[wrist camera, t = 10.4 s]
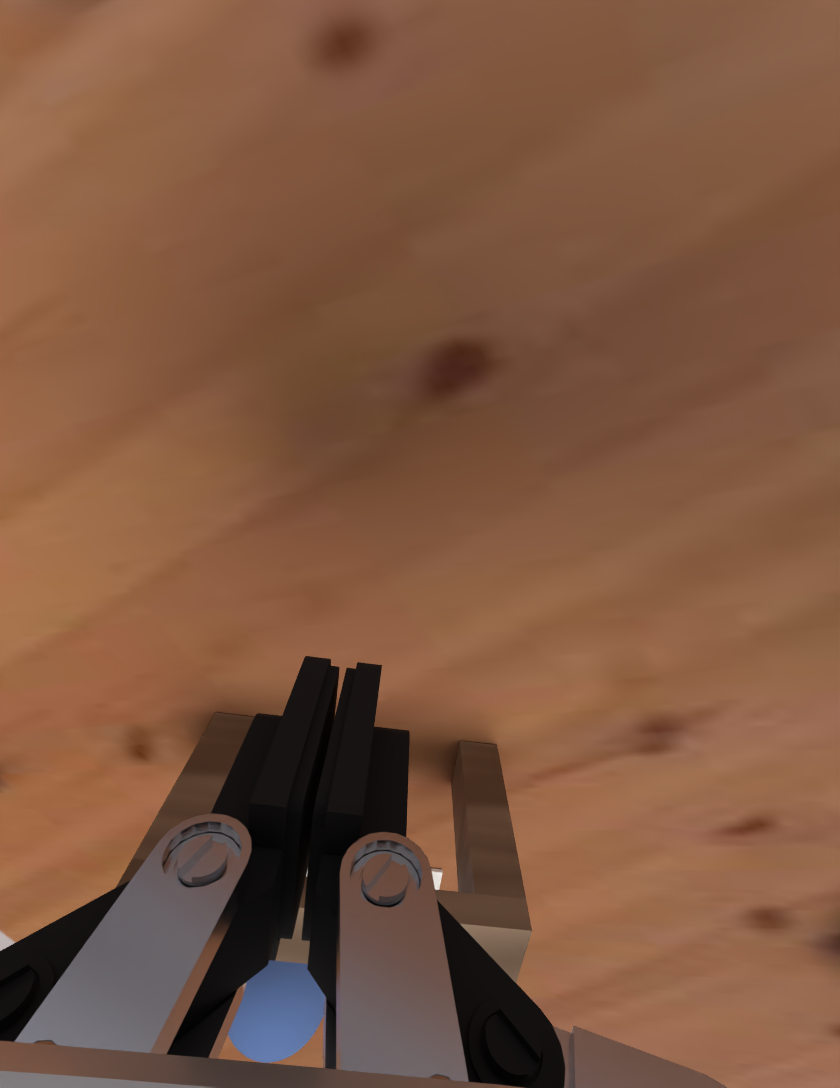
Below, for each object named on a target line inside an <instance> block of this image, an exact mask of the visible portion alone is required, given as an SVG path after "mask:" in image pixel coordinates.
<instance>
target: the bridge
mask: <svg viewBox="0 0 840 1088" xmlns="http://www.w3.org/2000/svg"><path fill="white" fill-rule="evenodd" d="M253 719H254V717H251V716H242V715H234V714H225V713H215V714H214V716H213V718H212V720H211V721H210V723H209V725H208V727H207V728H206V730H205V732H204V734H203V735H202V737H201V739H200V741H199V742H198V744H197V746H196V748H195V749H194V751H193V753H192V755H191V757H190V758H189V760H188V762H187V764H186V765H185V767H184V769H183V771H182V772H181V774H180V776H179V778H178V779H177V781H176V783H175V785H174V786H173V788H172V790H171V792H170V793H169V795H168V797H167V799H166V800H165V802H164V804H163V806H162V807H161V809H160V811H159V813H158V815H157V816H156V818H155V820H154V822H153V823H152V825H151V827H150V829H149V830H148V832H147V834H146V836H145V837H144V839H143V841H142V843H141V844H140V846H139V848H138V850H137V851H136V853H135V855H134V857H133V858H132V860H131V862H130V864H129V865H128V867H127V869H126V871H125V873H124V874H123V876H122V878H121V880H120V881H119V883H118V885H117V887H119V886H121V885H122V884H124V883H126V882H128V881H130V880H131V879H132V878H133V877H134V875H135V874H136V873H137V871H138V870H139V868H140V867H141V866H142V864H143V863H144V861H145V860H146V859H147V857H148V856H149V855H150V853H151V852H152V850H153V849H154V848H155V846H156V845H157V844H158V842H159V841H160V840H161V839H162V838H163V837H164V836H165V834H166V833H167V832H168V831H169V830H170V829H172V828H174V827H175V826H177V825H178V824H180V823H181V822H183V821H185V820H188V819H190V818H193V817H195V816H199V815H205V814H210V813H211V811H212V809H213V807H214V805H215V802H216V800H217V798H218V796H219V794H220V791H221V789H222V787H223V785H224V783H225V780H226V778H227V776H228V774H229V772H230V770H231V767H232V765H233V763H234V761H235V759H236V756H237V754H238V752H239V750H240V748H241V745H242V743H243V741H244V739H245V737H246V734H247V732H248V730H249V728H250V726H251V723H252V721H253ZM451 786H452V801H453V816H454V831H455V846H456V862H457V877H458V892H454V891H444V890H435V892H436V898H437V900H438V901H439V902H440V903H441V904H442V905H443V906H444V908H445V909H446V910H447V911H448V912H449V913H450V914H451V915H452V916H453V917H454V918H455V919H456V920H457V921H458V922H459V923H460V924H461V926H462V927H463V928H464V929H465V930H466V931H467V932H468V933H469V934H470V935H471V936H472V937H473V938H474V939H475V940H476V941H477V942H478V944H479V945H480V946H481V947H482V948H483V949H484V950H485V951H486V952H487V953H488V954H489V955H490V956H491V957H492V958H493V959H494V960H495V962H496V963H497V964H498V965H499V966H500V967H501V968H502V969H503V970H504V971H505V972H506V973H507V974H508V975H509V976H510V977H511V978H512V980H513V981H514V982H515V983H516V981H517V978H518V975H519V971H520V968H521V965H522V962H523V958H524V955H525V952H526V949H527V945H528V942H529V939H530V936H531V932H532V928H531V923H530V918H529V913H528V907H527V902H526V897H525V891H524V886H523V881H522V875H521V870H520V865H519V859H518V854H517V849H516V843H515V838H514V833H513V828H512V822H511V817H510V812H509V806H508V801H507V796H506V790H505V785H504V780H503V774H502V769H501V764H500V759H499V753H498V748H497V745H493V744H484V743H475V742H467V741H460V744H459V749H458V754H457V759H456V764H455V769H454V774H453V779H452V783H451ZM306 883H307V876H306V879H305V884H304V888H303V893H302V897H301V902H300V906H299V911H298V916H297V920H296V925H295V929H294V933H293V937H292V939H282V938H281V939H280V943H279V948H278V952H277V956H276V960H275V961H282V962H293V963H303V964H308V956H309V946H310V941H303V940H302V928H303V917H304V905H305V894H306ZM117 887H116V888H117Z"/></svg>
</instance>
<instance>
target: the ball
mask: <svg viewBox="0 0 840 1088" xmlns="http://www.w3.org/2000/svg"><path fill="white" fill-rule="evenodd" d="M307 966H308V964H303V963H293V962H282V961H272V960H269V963H268V966H266V967H265V968H264V969H263V970H261V971H260V972H259V973H257V974H256V975H255V976H254V977H252V978H251V979H250V980H248V981H247V982H246V987H245V991H244V995H243V998H242V1001H241V1003H240V1006H239V1008H238V1011H237V1013H236V1016H235V1018H234V1020H233V1023H232V1025H231V1028H230V1030H229V1032H228V1035H229V1038H230V1039H231V1041H232V1043H233V1044H234V1046H235V1047H236V1048H237V1049H238V1050H239V1051H240V1052H241V1053H242V1054H243V1055H245V1056H246V1057H248V1058H250V1059H252V1060H255V1061H258V1062H275V1061H280V1060H282V1059H285V1058H287V1057H289V1056H291V1055H293V1054H294V1053H296V1052H297V1051H298V1050H300V1049H301V1048H302V1047H303V1046H304V1045H305V1044H306V1043H307V1042H308V1041H309V1040H310V1038H311V1037H312V1036H313V1034H314V1033H315V1031H316V1030H317V1028H318V1026H319V1024H320V1022H321V1020H322V1018H323V1015H324V1002H325V995H324V994H323V992H322V991H321V989H320V988H319V986H318V985H317V983H316V982H315V980H314V979H313V977H312V976H311V974H310V973H309V971H308V970H307Z"/></svg>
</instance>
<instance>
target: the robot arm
mask: <svg viewBox="0 0 840 1088" xmlns="http://www.w3.org/2000/svg"><path fill="white" fill-rule="evenodd" d="M381 668H382V665H375V664H367V663H359V662H358V663H357V667H356V669H353V668H347V669H346V673H345V677H344V682H343V686H342V690H341V694H340V698H339V703H338V707H337V711H336V715H335V708H336V698H337V688H338V678H339V667H336V666H331V659H326V658H318V657H309V656H306V657H305V658H304V661H303V663H302V666H301V668H300V671H299V674H298V676H297V679H296V682H295V684H294V687H293V689H292V692H291V695H290V697H289V700H288V703H287V705H286V708H285V710H284V713H283V716H277V715H269V714H260V713H258V714H257V715H256V716H255V718H254V719H253V721H252V723H251V726H250V728H249V730H248V732H247V734H246V737H245V739H244V741H243V743H242V745H241V748H240V750H239V752H238V754H237V756H236V759H235V761H234V763H233V765H232V767H231V770H230V772H229V774H228V776H227V778H226V780H225V783H224V785H223V787H222V789H221V791H220V794H219V796H218V798H217V800H216V802H215V805H214V807H213V809H212V811H211V813H210V814H205V815H199V816H195V817H193V818H190V819H188V820H185V821H183V822H181V823H180V824H178V825H177V826H175V827H174V828H172V829H170V830H169V831H168V832H167V833H166V834H165V836H164V837H163V838H162V839H161V840H160V841H159V842H158V844H157V845H156V846H155V848H154V849H153V850H152V852H151V853H150V855H149V856H148V857H147V859H146V860H145V861H144V863H143V864H142V866H141V867H140V868H139V870H138V871H137V873H136V874H135V875H134V877H133V878H132V879H131V880H130V881H128V882H126V883H124V884H122V885H121V886H119V887H117V888H115V889H113V890H111V891H110V892H108V893H106V894H104V895H102V896H100V897H99V898H97V899H95V900H93V901H91V902H89V903H88V904H86V905H84V906H82V907H80V908H78V909H77V910H75V911H73V912H71V913H69V914H67V915H66V916H64V917H62V918H60V919H58V920H57V921H55V922H53V923H51V924H49V925H47V926H46V927H44V928H42V929H40V930H38V931H36V932H35V933H33V934H31V935H29V936H27V937H25V938H24V939H22V940H20V941H18V942H16V943H14V944H13V945H11V946H9V947H7V948H6V949H3V950H2V951H0V1088H727V1087H726V1086H724V1085H723V1084H721V1083H719V1082H718V1081H716V1080H714V1079H712V1078H711V1077H709V1076H707V1075H705V1074H703V1073H700V1072H697V1071H695V1070H692V1069H689V1068H686V1067H684V1066H681V1065H678V1064H676V1063H673V1062H670V1061H668V1060H665V1059H662V1058H660V1057H657V1056H654V1055H651V1054H649V1053H646V1052H643V1051H641V1050H638V1049H635V1048H633V1047H630V1046H627V1045H625V1044H622V1043H619V1042H616V1041H614V1040H611V1039H608V1038H606V1037H603V1036H600V1035H598V1034H595V1033H592V1032H590V1031H587V1030H584V1029H582V1028H579V1027H576V1026H574V1027H573V1030H572V1032H571V1033H570V1032H567V1031H564V1030H562V1029H559V1028H556V1027H554V1026H552V1024H551V1023H550V1021H549V1020H548V1019H547V1017H546V1016H545V1015H544V1013H543V1012H542V1011H541V1009H540V1008H539V1007H538V1006H537V1005H536V1004H535V1003H534V1002H533V1001H532V1000H531V999H530V998H529V996H528V995H527V994H526V993H525V992H524V991H523V990H522V989H521V988H520V987H519V986H518V985H517V984H516V983H515V982H514V981H513V980H512V978H511V977H510V976H509V975H508V974H507V973H506V972H505V971H504V970H503V969H502V968H501V967H500V966H499V965H498V964H497V963H496V962H495V960H494V959H493V958H492V957H491V956H490V955H489V954H488V953H487V952H486V951H485V950H484V949H483V948H482V947H481V946H480V945H479V944H478V942H477V941H476V940H475V939H474V938H473V937H472V936H471V935H470V934H469V933H468V932H467V931H466V930H465V929H464V928H463V927H462V926H461V924H460V923H459V922H458V921H457V920H456V919H455V918H454V917H453V916H452V915H451V914H450V913H449V912H448V911H447V910H446V909H445V908H444V906H443V905H442V904H441V903H440V902H439V901H438V900H437V898H436V892H435V887H434V881H433V875H432V870H431V867H430V864H429V861H428V858H427V856H426V855H425V854H424V852H423V851H422V850H421V848H420V847H419V846H418V845H417V844H415V843H414V842H413V841H411V840H410V839H409V838H407V837H406V827H407V797H408V767H409V731H407V730H398V729H389V728H381V727H374V722H375V715H376V707H377V699H378V691H379V683H380V676H381ZM334 718H335V720H334ZM307 870H308V872H307ZM306 875H307V883H306V894H305V905H304V917H303V928H302V940H303V941H310V946H309V956H308V966H307V970H308V971H309V973H310V974H311V976H312V977H313V979H314V980H315V982H316V983H317V985H318V986H319V988H320V989H321V991H322V992H323V994H324V995H325V1002H324V1026H323V1068H315V1067H303V1066H292V1065H281V1064H269V1063H258V1062H247V1061H236V1060H224V1059H218V1057H219V1054H220V1052H221V1049H222V1047H223V1045H224V1042H225V1040H226V1037H227V1035H228V1032H229V1030H230V1028H231V1025H232V1023H233V1020H234V1018H235V1016H236V1013H237V1011H238V1008H239V1006H240V1003H241V1001H242V998H243V995H244V991H245V987H246V982H247V981H248V980H250V979H251V978H252V977H254V976H255V975H256V974H257V973H259V972H260V971H261V970H263V969H264V968H265V967H266V966H268V963H269V960H272V961H275V960H276V956H277V952H278V948H279V943H280V939H281V938H282V939H292V937H293V933H294V929H295V925H296V920H297V916H298V911H299V906H300V902H301V897H302V893H303V888H304V884H305V879H306Z"/></svg>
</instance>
